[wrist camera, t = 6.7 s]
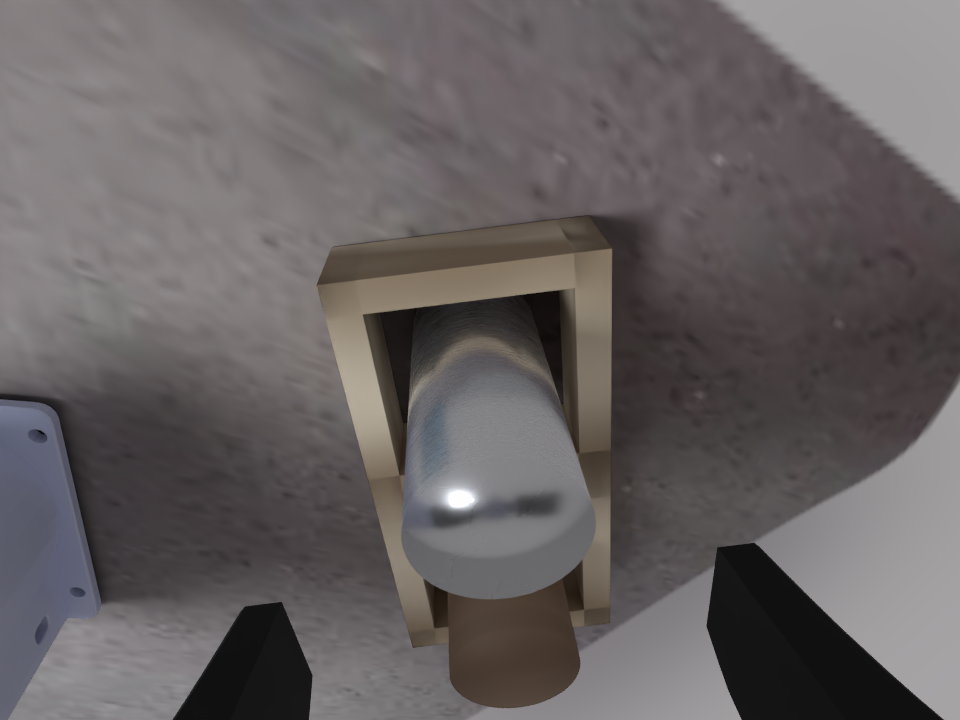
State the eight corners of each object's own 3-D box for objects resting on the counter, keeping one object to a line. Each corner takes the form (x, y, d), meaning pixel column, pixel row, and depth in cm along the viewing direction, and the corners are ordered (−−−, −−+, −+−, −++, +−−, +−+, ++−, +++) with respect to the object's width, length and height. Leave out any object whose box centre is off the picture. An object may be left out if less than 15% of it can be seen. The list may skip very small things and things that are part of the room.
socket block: (594, 566, 24) (638, 724, 19) (414, 588, 24) (409, 752, 19) (589, 215, 17) (659, 315, 11) (331, 247, 17) (286, 361, 11)
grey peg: (530, 381, 19) (585, 594, 12) (415, 383, 19) (405, 603, 12) (537, 273, 17) (606, 455, 11) (410, 275, 17) (396, 462, 10)
